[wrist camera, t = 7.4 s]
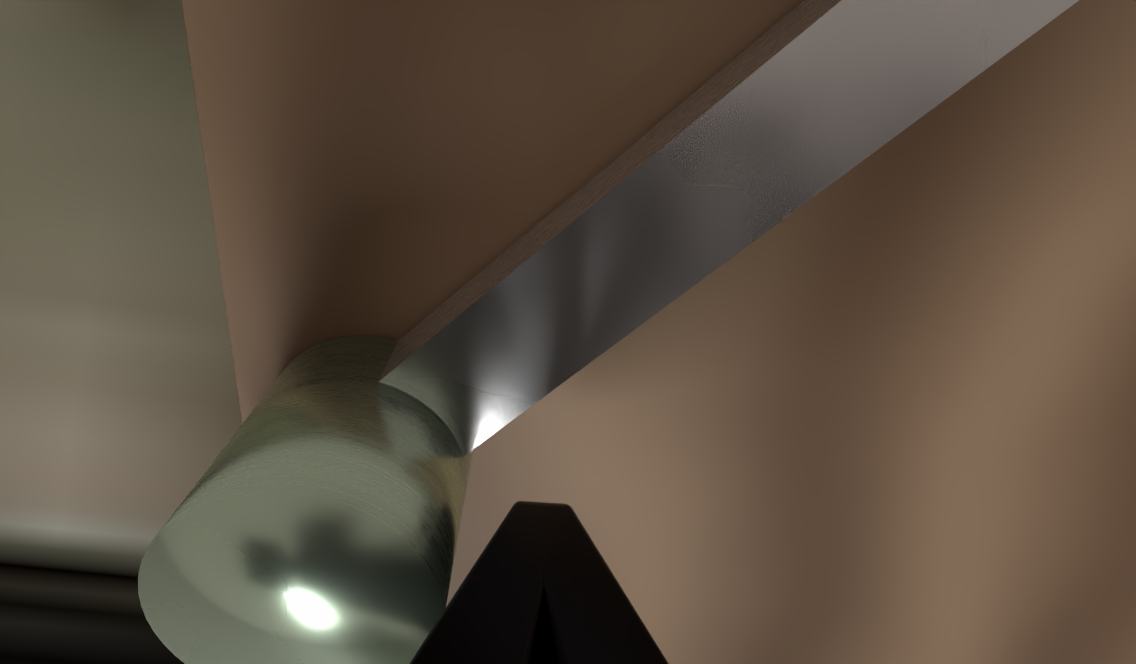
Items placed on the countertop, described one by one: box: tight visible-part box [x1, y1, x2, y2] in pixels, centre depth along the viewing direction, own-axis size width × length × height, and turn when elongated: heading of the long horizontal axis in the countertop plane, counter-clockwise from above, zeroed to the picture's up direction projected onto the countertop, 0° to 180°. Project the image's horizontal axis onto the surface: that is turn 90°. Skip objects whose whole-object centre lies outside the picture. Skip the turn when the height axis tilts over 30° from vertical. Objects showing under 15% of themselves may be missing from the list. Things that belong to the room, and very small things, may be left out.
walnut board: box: [182, 0, 1136, 664], centre depth 9 cm, size 20×28×2 cm
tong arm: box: [138, 0, 1079, 664], centre depth 6 cm, size 22×3×4 cm, turn 130°
